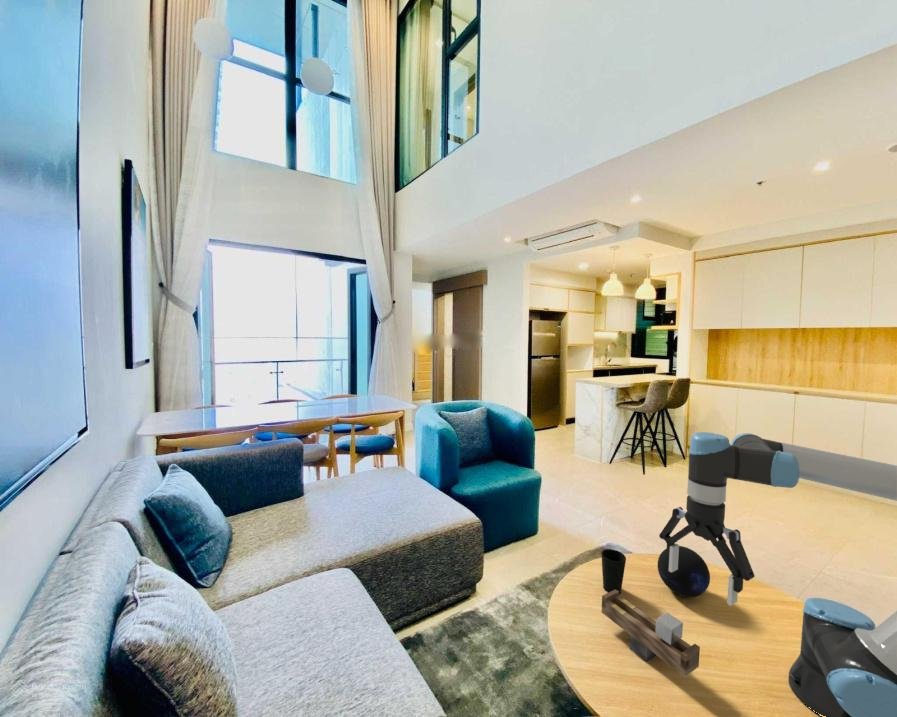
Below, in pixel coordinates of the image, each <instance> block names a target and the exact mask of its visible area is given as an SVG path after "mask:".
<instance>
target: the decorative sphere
mask: <svg viewBox="0 0 897 717" xmlns="http://www.w3.org/2000/svg"><path fill="white" fill-rule="evenodd" d="M666 551H667V547H665V549H663V551H661V553H660V554H659V556H658V559H657V570H658V574H659V577H660V579H661V581H662V582H663V584H664V585H666V588H667V587H668V589H669V590H671V592H672V591H673V592H674V593H675V594H677V595H680V596H682V597H687V598H695V597H698V596H700V595H703V594H705V593H706V591H707V589H708V588H709V586H710V583H711V574H710V570H709V567H708V565H707V563H706V561H705V560H704V559H703V557H702V556H701V555H699V553H697V552H696V551H695V550H692V549H691V548H688V547H686V546H683V545H679V556H678V570H676V571H674V572H670V571H669V556H667V554H666Z"/></svg>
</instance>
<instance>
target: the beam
mask: <svg viewBox="0 0 897 717" xmlns="http://www.w3.org/2000/svg"><path fill="white" fill-rule="evenodd" d="M601 613H602V615H604V616H606V617H607V618H608V619H609V620H610V621H612V622H613V623H614V624H616V625H617V626H618V627H620V628H621V629H623V630H624V632H626V633H627V634H629V648H628V649H629V650H630V651H631V652H632V653H634V654H635V655H636V656H637V657H638V658H640V659H641V660H642V661H644V662H645V663H646V664H647V663H649V662H650V661H651V660H654V659H655V658H656V657H658V658H660V659H661V660H662V661H664V662H665V663H666V664H667V665H669V666H670V667H672V668H673V669H674V670H675V671H677V672H678V673H679V674H681V675H682V676H683V677H684V678H686V677H687V676H690V674H691V673H693V672H694V671H695V670H696V669H698V668H699V667H700V652H701V651H700V650H701V649H700V648H701V647H700V646H699V645H698V644H696V643H693V644H692V645H691V644H690V643H688V642H687V641H685V640H684V639H682V638H681V639H679V640H678V641H677V647H676V648H674V647H673V646H671V645H670V644H669V643H667V642H666V641H665V640H663V639H662V638H660V637H659V636H658V635H656V634H655V632H656V619H653V618H652V617H650V616H649V615H647V614H646V613H645V612H643V611H642V610H640V609H639V608H637V606H635V605H633V604H632V603H631V602H629V601H628V600H627V599H625V598H623V597H621V596H620V594H619V591H617V590H616V589H615V590H613V591H611V592H609V593H608V592H606V593H604V594H603V595H602V596H601Z"/></svg>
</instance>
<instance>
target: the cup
mask: <svg viewBox="0 0 897 717" xmlns="http://www.w3.org/2000/svg"><path fill="white" fill-rule="evenodd" d="M600 554H601V570H602V588H603V590H604V591H605V592H606V593H609V592H611V591H613V590H615V589H616V590H617V591H619V595H620V594H621V593H622V588H623V587H622V586H623V581H624V574H625V568H626V563H627V562H626V561H627V557H626V556H625V554H624V553H623V552H621V551H619V550H616V549H613V548H607V549H603V550H602V551H601V552H600Z"/></svg>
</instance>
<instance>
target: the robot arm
mask: <svg viewBox="0 0 897 717" xmlns="http://www.w3.org/2000/svg"><path fill="white" fill-rule="evenodd" d="M687 472H688V476H687V488H686V489H687V490H686V493H687V496H686V508H685V510H686V511H685V510H684V508H682V507H681V506H678V507H675V508H673V509H672V513H671V517H670V518H669V520H668V521H667V523H666V524H665V526H664V527H663V529H662V530H661V532H660V533H659V536H658V537H659V539H660V540H663V541H665V543H666V548H667V551H666V554H667V556H669V571H670V572H674V571H676V570H678V556H679V546H680V545H679V544H678V543H677V542H678V541H679V540H682V539H683V538H684V537H686V536H687V535H689V534H691V533H693V534H694V536H697V537H700V538H702V539H704V540H705V541H707V542H708V541H710V542H711V544H712V546H713V547H715V548H716V550H717V551H718V553H719V555H720V557H721V558H722V560H723V561H724V563H725V565H726V566H727V568H728V570H729V571H730V572H731V574H729V575H728V582H727V584H728V586H727V601H726V605H729V606H731V607H732V606H733V605H735V604H736V603H737V602H738V596H739V595H738V594H739V593H740V592H742V591H743V590H744V581H747V582H749V581H751V580H753V578H755V573H754V570H753V568H752V566H751V564H750V560H749V558H748V556H747V553H746V551H745V549H744V546H743V544H742V541H741V532H740V530H739V529H730V528H727V527H726V526H725V515H726V514H725V513H726V504H725V503H726V501H727V500H726V498H727V496H726V495H727V483H728V482H727V481H728V479H731V480H736V481H742V482H743V481H744V482H749V483H754V484H759V485H765V486H772V487H774V488H779V487H780V488H787V489H793V488H795V487H796V486H797V485H798V483H799V480H800V479H802V480H805V481H811V482H814V483H819V484H823V485H828V486H831V487H835V488H840V489H844V490H849V491H854V492H857V493H861V494H866V495H870V496H875V497H877V498H878V497H879V498H883V499H887V500H890V501H891V500H892V501H895V502H897V464H896V465H895V464H889V463H886V462H881V461H875V460H871V459H865V458H861V457H856V456H851V455H846V454H841V453H836V452H830V451H825V450H820V449H816V448H810V447H805V446H801V445H796V444H790V443H785V442H779V441H776V440H770V439H765V438H762V437H761V436H759V435H756V434H753V433H747V432H746V433H741V434H738V435H736V436H735V437H733V438H732V440H731V443H730V440H729V438H728V437H727V436H726V435H722V434H718V433H714V432H706V431H705V432H704V431H703V432H701V431H700V432H699V431H698V432H695V433H693V434H692V435H691V436H690V445H689V450H688V471H687ZM681 519H685V521H686V523H687V525H686V526H684V527H683V528H682V529H681V530H679V531H678V532H676V533H674V534H673V535H672V536H671V534H672V533H673V531H674V530H675V529H676V527H677V526H678V524H679V523H680V521H681ZM723 534H725V536H726V538H725V537H724V535H723ZM726 539H727V540H728V542H729V545H730V547H729V545H728V544H727V540H726ZM730 548H731V549H730ZM802 612H803V615H802V626H801V627H802V628H801V637H800V638H801V639H800V641H801V642H800V654H799V655H798V657H797V658H796V660H795V661H794V662H793V664H792V665H791V666H790V668H789V670H788V678H787V679H788V680H787V681H788V685H789V687H790V689H791V692H793V694H794V695H795V696H796V698H799V699H800V700H801V701H802V702H803V703H804V704H803V703H802V702H801V701H800V700H799V699H798V700H799V701H800V702H801V703H802V704H803V705H805V704H806V705H807V706H808V707H810V708H811V709H812V710H814V711H815V712H817V713H819V714H821V715H823V716H826V717H897V610H896V611H894V612H893V613H892V614H891V615H890V616H888V617H887V618H886V619H885V620H884V621H883V622H881V623H880V624H878V625H877V626H876V624H875V622H874V621H873V620H872V619H871V618H870V617H869V616H867V615H866V614H865V613H863V612H862V611H860V610H858V609H855V608H853V607H851V606H849V605H846V604H844V603H841V602H839V601H838V602H837V601H836V600H835V601H834V600H833V599H832V600H831V599H827V598H822V597H810V598H807V599H806V600H805V601H804V607H803V608H802ZM806 705H805V706H806ZM807 706H806V707H807ZM808 707H807V708H808ZM811 709H810V710H811ZM812 710H811V711H812ZM815 712H814V713H815Z"/></svg>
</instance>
